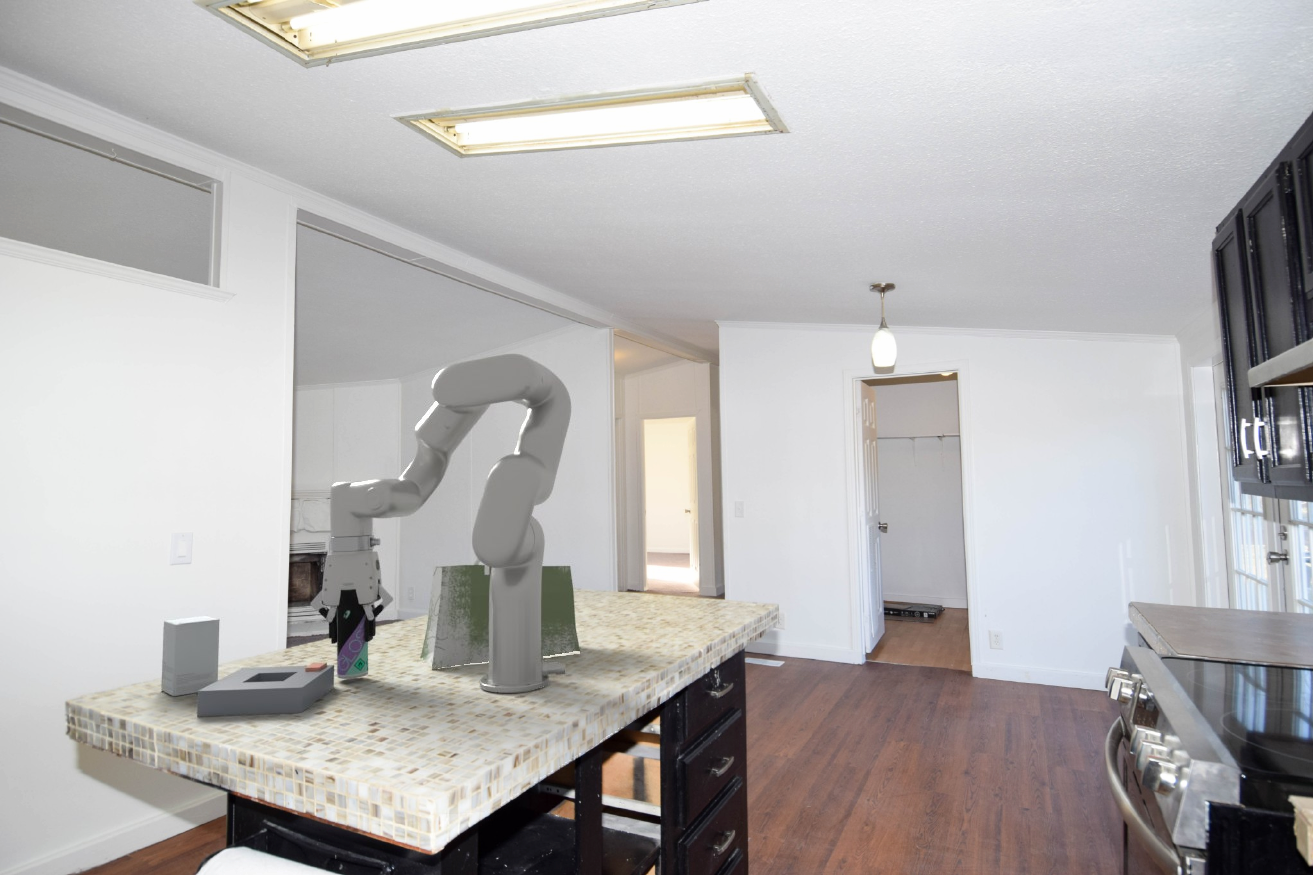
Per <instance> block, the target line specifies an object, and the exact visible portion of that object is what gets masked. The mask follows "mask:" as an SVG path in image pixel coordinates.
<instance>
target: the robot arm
mask: <svg viewBox="0 0 1313 875" xmlns="http://www.w3.org/2000/svg"><path fill="white" fill-rule="evenodd" d="M431 394H432V397H433V399H434V401H435V402H433V405H431V407H430V408H429V409H428V411H427V412H426V413H425V415H423V417H422V418H421V419H420V420H419V422H418V423H416V425H415V428H414V435H415V439H416V441H417V449H416V453H415V456H414V458H413V460H412V461H411V462H410V463H409V465H408V467H407V468H406V469H405V470H404V472H403V473H402V474H401V475H400V476H399V478H377V479H370V480H365V481H361V480H357V481H351V480H350V481H339V482H335V483H333V484H332V486H330V491H329V492H330V494H329V499H330V514H329V515H330V521H329V522H330V553H328V554H326V557H325V558H326V559H325V564H324V569H323V577H322V578H323V579H322V587H321V588H322V589H321V590H320V591H319V592H318V593H317V595H316V596H315V597H314V598H313V599H312V601H311V602H310V605H309V606H311V608H313V609H314V610H315V611H317V612H318V613H319V614H320V615H321V616H322V617H323V618H324V619H325V621H326V623H328V638H329V639H330V640H331V641H330V642H331V644H337V606H338V605H339V601H340V593H341V588H342V587H344V586H345V585H343V583H354V585H352V586H354V587H356V593H357V597H358V601H359V604H361V605H363V607H364V609H365V612H366V615H367V620H366V621H365V641H366V642H368V643H369V642H371V641H372V640H373V639H374V637H375V636H376V633H377V631H376V630H377V629H376V624H377V623H376V622H377V620H376V619H377V618H378V616H379V615H380V614H381V613H382V612H383V611H384V610H385V609H387V607H388V606H389V605H390V604H391V603H392V602H393V601H394V597H393V596H392V595H391V594H390V593H389V592H388V591H387V590H386V589H385V587H383V581H382V570H381V563H380V558H379V554H378V551H377V550H376V551H373V549H374V548H375V547H376V546H381V538H377V537H374V534H373V531H374V530H373V519H391V518H403V517H409V516H411V515H413V514H415V513H416V512H417V511H419V510H420V509H421V508H422V507H423V506H424V504H425V503H426V502H427V501H428V500H429V498H430V497H431V496H432V495H433V494H434V492H435V491H436V489H437V488H438V486H439V485H440V484H441V482H442V480H443V479H444V477H445V475H446V472H447V470H448V467H449V465H450V462H451V458H452V455H453V454H454V453H455V451H456V449H457V448H458V447H459V446H460V445H461V444H462V442H463V440H464V439H465V438H466V437H467V436H468V434H469V432H470V431H471V430H472V429H473V428H474V426H475V425H476V424H477V423H478V422H479V420H480V419H481V418H482V416H483V415H484V414H485V413H486V412H487V410H488V409H489V407H490V406H491V405H493V404H499V403H505V402H513V403H516V404H519V405H522V406H524V407H525V408H526V410H527V414H526V416H525V418H524V420H523V423H522V425H521V427H520V430H519V434H518V439H517V443H516V447H515V449H514V452H513V453H510V454H508V455H505V456H503V457H501V458H499V460H497V461H496V463H494V464H493V466H492V467H491V469H490V471H489V473H488V476H487V478H486V480H485V484H484V488H483V491H482V495H481V498H480V502H479V506H478V510H477V513H476V518H475V521H474V525H473V527H472V528H473V529H472V535H471V545H472V550H473V553H474V555H475V557H476V559H477V558H478V559H479V560H480V562H481V563H482V565H487V566H489V567H492V568H491V575H490V585H489V664H488V675H485V676H483V677H481V678H480V680H479V687H480V688H481V689H482V690H484V691H487V692H491V693H497V692H498V694H499V693H500V694H513V693H517V694H518V693H524V692H525V693H527V692H531V691H530V690H532V691H536V690H535V689H537V690H539V689H538V688H540V689H542V688H541V687H543V686H545V687H546V686H548V685H549V684H548V683H550V675H566V663H565V662H563V663H562V662H561V663H560V661H553V662H548V661H547V660H546V661H545V660H544V659H543V655H541V581H542V566H543V564H544V563H543V562H544V556H545V555H544V553H545V542H546V540H545V533H544V530H543V527H542V525H541V524H540V522H539V521H538V519H537V518H535V517H534V516H533V512H534V508H535V506H539V505H542V504H543V503H545V502H546V501H547V500H548V499H549V498H550V496H551V495H552V492H553V489H554V487H555V486H554V485H555V481H556V478H557V473H558V469H559V465H560V462H561V457H562V454H563V450H564V445H565V440H566V437H567V433H568V429H569V425H570V423H571V415H572V402H571V396H570V392H569V391H568V388H567V386H566V385H565V384H564V382H563V381H562V379H560V378H559V377H558V376H557V374H555V373H554V372H553V371H552V370H551V369H549V368H548V367H546V366H545V365H543V364H541V363H540V362H538V361H536V360H533V359H532V358H530V357H528V356H527V355H523V354H519V353H504V354H499V355H494V356H489V357H484V358H477V359H473V360H467V361H461V362H456V363H452V364H450V365H447V366H445V367H443V368H442V369H440V370H439V372H438V373H436V375H435V376H434V378H433V380H432V383H431ZM380 600H382V601H381V602H380V603H379V604H378V605H377V606H375V603H376V602H378V601H380ZM543 688H544V687H543Z"/></svg>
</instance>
